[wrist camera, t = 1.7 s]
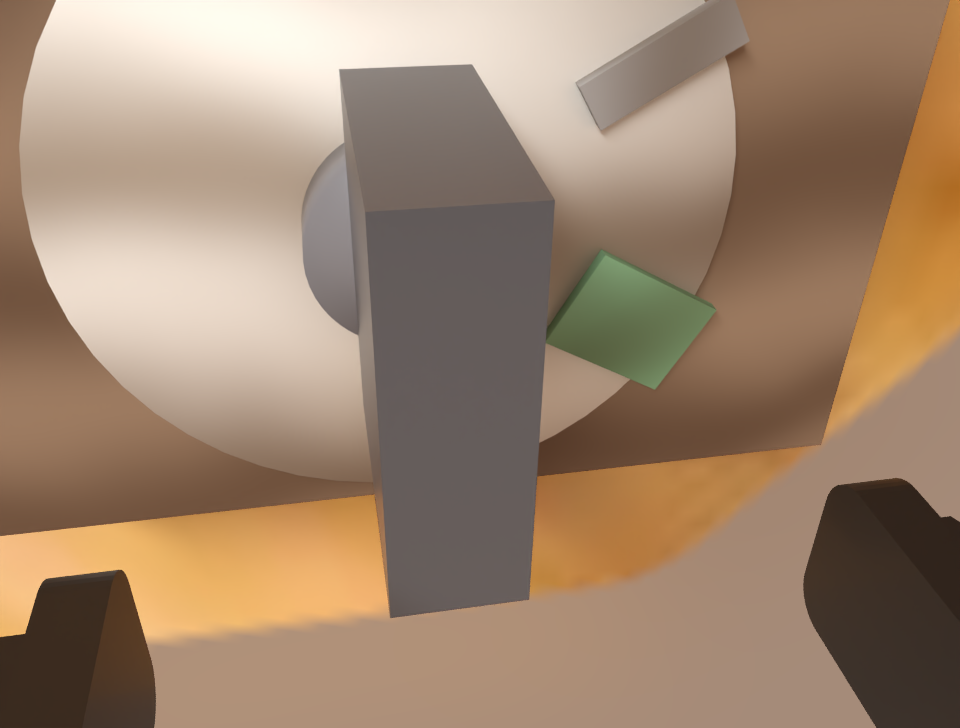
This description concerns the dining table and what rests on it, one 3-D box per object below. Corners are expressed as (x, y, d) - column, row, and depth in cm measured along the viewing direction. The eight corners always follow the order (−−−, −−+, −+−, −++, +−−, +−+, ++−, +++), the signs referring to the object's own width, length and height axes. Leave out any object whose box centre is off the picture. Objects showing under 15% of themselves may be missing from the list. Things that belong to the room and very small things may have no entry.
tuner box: (-247, -246, 16) (-446, -245, 12) (864, -230, 20) (1034, -224, 15) (-9, 413, 25) (-72, 559, 20) (742, 344, 28) (830, 456, 24)
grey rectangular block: (283, 49, 16) (284, 216, 10) (508, 41, 16) (629, 195, 11) (329, 491, 21) (346, 755, 16) (495, 473, 22) (568, 722, 16)
